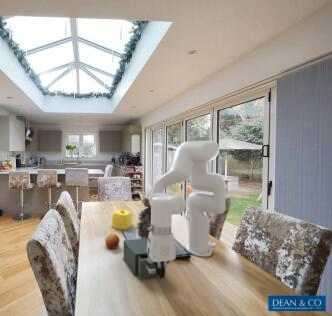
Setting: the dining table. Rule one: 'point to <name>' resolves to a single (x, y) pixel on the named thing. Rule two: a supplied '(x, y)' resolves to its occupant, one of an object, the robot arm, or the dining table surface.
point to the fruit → (112, 241)
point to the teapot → (122, 219)
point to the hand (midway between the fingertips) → (160, 276)
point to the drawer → (146, 268)
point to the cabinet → (134, 252)
